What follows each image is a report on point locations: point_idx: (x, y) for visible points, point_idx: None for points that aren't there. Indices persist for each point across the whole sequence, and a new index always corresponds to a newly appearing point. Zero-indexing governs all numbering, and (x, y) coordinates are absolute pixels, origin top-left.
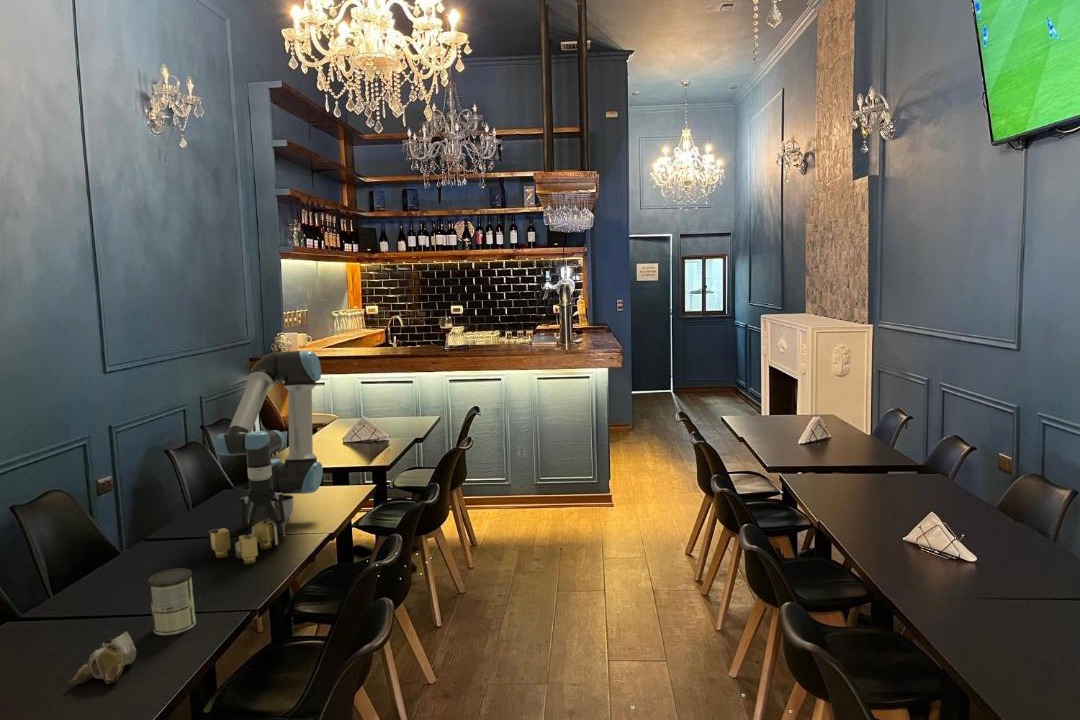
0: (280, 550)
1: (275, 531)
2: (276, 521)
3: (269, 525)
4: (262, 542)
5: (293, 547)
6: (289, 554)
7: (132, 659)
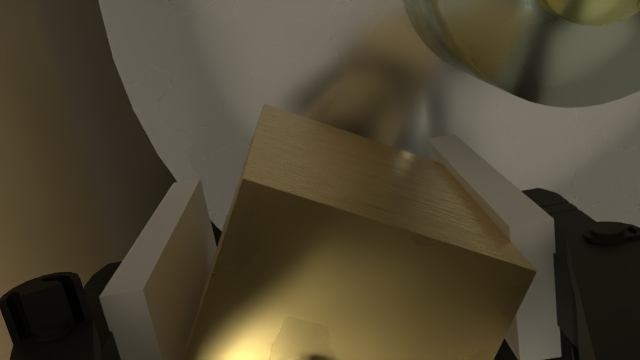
0: (168, 176)
1: (148, 248)
2: (61, 357)
3: (213, 267)
4: (343, 131)
5: (48, 236)
6: (22, 8)
7: None
